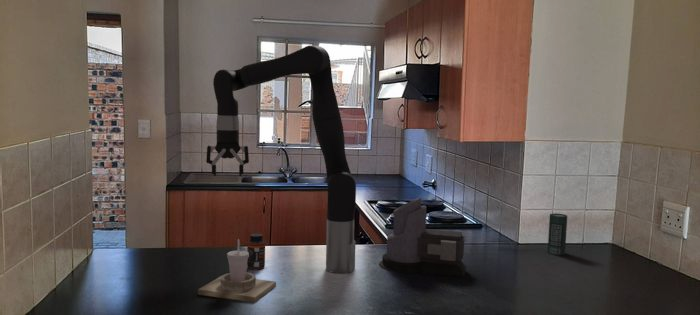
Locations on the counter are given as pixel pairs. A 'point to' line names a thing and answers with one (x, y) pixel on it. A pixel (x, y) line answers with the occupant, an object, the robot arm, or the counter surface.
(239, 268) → the smoothie
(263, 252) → the supplement bottle
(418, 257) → the juicer
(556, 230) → the can
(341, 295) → the counter surface
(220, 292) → the socket board
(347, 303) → the counter surface
